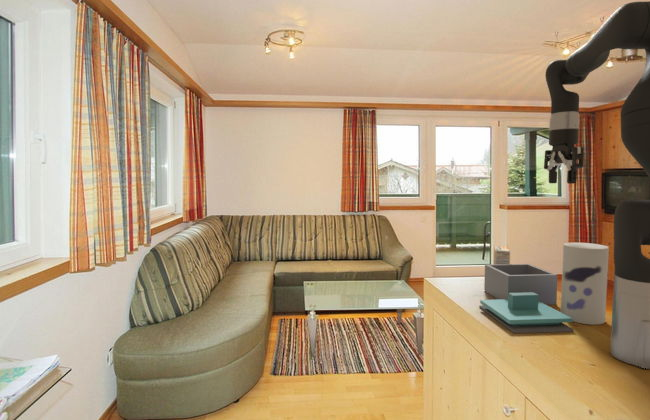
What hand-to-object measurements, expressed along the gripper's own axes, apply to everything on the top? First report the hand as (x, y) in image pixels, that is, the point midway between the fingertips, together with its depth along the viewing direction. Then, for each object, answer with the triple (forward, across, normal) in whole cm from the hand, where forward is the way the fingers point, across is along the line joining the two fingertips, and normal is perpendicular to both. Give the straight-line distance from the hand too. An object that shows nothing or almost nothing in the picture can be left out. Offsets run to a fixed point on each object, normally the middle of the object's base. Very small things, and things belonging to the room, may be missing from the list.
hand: (561, 183), depth 116 cm
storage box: (+36, +4, +10) cm, 38 cm away
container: (+36, -15, +3) cm, 39 cm away
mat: (+36, -14, +19) cm, 43 cm away
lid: (+36, -14, +19) cm, 43 cm away
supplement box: (+36, +19, +8) cm, 42 cm away
